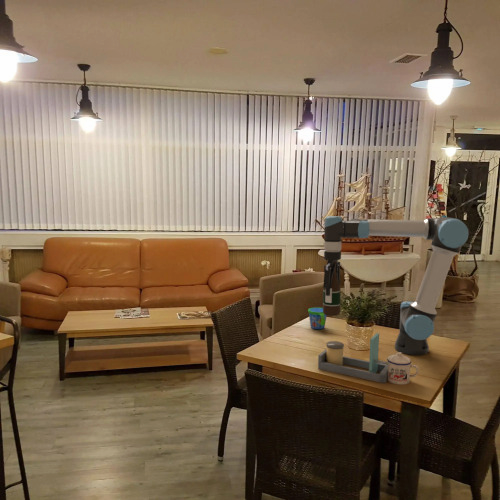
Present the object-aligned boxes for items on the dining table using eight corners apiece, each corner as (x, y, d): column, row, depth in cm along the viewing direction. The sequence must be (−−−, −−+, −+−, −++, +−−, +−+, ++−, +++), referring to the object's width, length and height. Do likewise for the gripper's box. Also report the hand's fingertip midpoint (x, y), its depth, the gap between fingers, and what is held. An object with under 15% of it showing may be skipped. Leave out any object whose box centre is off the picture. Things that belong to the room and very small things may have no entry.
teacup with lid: (385, 383, 181) (387, 355, 180) (386, 375, 190) (387, 347, 188) (418, 388, 177) (419, 358, 176) (417, 378, 186) (419, 351, 184)
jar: (342, 364, 200) (343, 341, 199) (343, 370, 193) (343, 347, 192) (326, 362, 202) (326, 340, 200) (325, 369, 195) (326, 346, 193)
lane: (392, 373, 191) (393, 359, 190) (384, 383, 181) (385, 368, 180) (328, 359, 205) (329, 346, 204) (318, 368, 195) (318, 355, 194)
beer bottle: (339, 316, 206) (341, 263, 203) (322, 315, 208) (323, 262, 205) (340, 311, 214) (341, 260, 211) (323, 311, 215) (323, 260, 212)
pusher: (392, 373, 189) (394, 335, 187) (386, 381, 182) (388, 342, 180) (375, 370, 193) (376, 333, 191) (368, 377, 185) (370, 339, 183)
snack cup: (304, 323, 260) (305, 306, 258) (322, 323, 261) (323, 305, 259) (311, 332, 244) (312, 313, 243) (331, 331, 245) (331, 313, 244)
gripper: (332, 247, 218) (332, 295, 221) (315, 252, 200) (315, 304, 203) (348, 248, 214) (347, 297, 217) (332, 253, 197) (331, 306, 200)
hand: (331, 300), depth 210 cm, fingers closed on beer bottle, 7 cm apart
